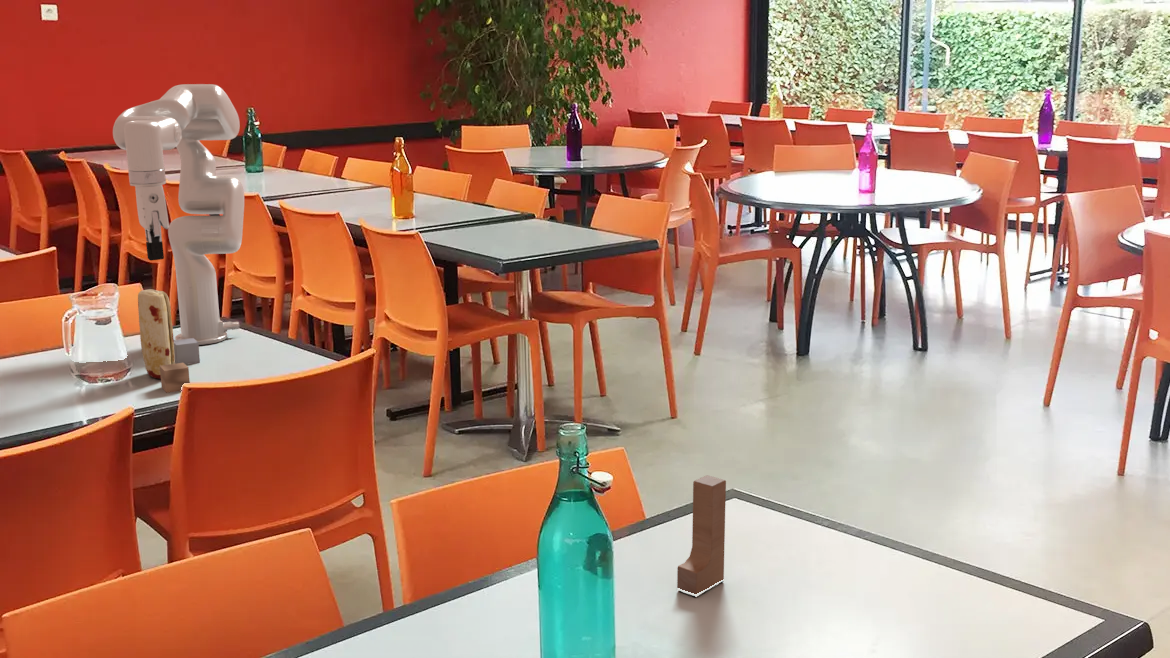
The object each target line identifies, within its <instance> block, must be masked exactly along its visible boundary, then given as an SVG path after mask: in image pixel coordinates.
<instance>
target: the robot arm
mask: <svg viewBox="0 0 1170 658" xmlns="http://www.w3.org/2000/svg"><path fill="white" fill-rule="evenodd" d="M240 124H241V123H240V117H239V114H238V112H237V109H236V108H235V106H234V104H233V103H232V101H231V99H230V97H229V96H228V94H227V93H226V92H225V91H224V89H223V88H222V87H220V86H219V85H218V84H212V83H211V84H210V83H208V84H205V83H196V84H195V83H194V84H193V83H192V84H191V83H190V84H189V83H187V84H185V83H184V84H178V85H174V86H172V87H171V88H169V89H168V90H167V91H166V92H165V93H164V94H163V95H162V96H161V97H160V98H159V99H155V100H152V101H150V102H149V101H148V102H146V103H143V104H139V105H136V106H133V107H130V108H127V109H125V110H124V111H123V112H122V113H120V114H119V115H118V117H117V118H116V119H115V122H114V123H113V127H112V137H113V140H114V143H115V144H116V146H117V147H119V148H120V149H121V150H123V151H125V152H126V160H127V161H126V162H127V169H128V180H129V181H128V182H129V186H130V187H135V189H134V190H135V197H136V198H135V201H136V209H137V217H138V222H139V225H140V226H141V227H142V228H143V229H144V232H145V233H144V234H145V240H146V242H145V244H146V245H145V246H146V255H147V259H148V260H149V261H160V260H164V259H165V256H164V255H165V254H164V246H163V245H164V244H163V239H162V228H163V229H164V230H167V234H168V239H169V244H170V248H171V251H172V255H173V259H174V261H173V263H174V268H175V277H176V288H177V289H176V290H177V299H178V300H177V301H178V311H179V312H178V313H179V322H180V323H179V324H180V333H179V334H177V335H176V336H175V337H174V340H182V339H190V338H194V339H195V340H196V341H197V342H198V345H199V346H202V345H211V344H216V343H217V344H218V343H220V342H222V341H225V340H227V338H228V333H227V332H228V331H230V330H232V331H233V330H240V322H239V321H223V320H222V319H220V309H219V295H218V285H217V284H218V283H217V273H216V269H215V267H214V265H213V263H212V262H211V260H209V258H208V257H207V256H206V255H219V254H220V255H221V254H222V255H223V254H225V255H226V254H227V255H228V254H229V255H230V254H234V253H237V252H238V251H239V250H240V248H241V245H242V244H243V243H242V242H243V229H244V213H245V190H244V186H243V184H242V182H241V180H240V179H238V178H237V177H234V176H227V175H226V176H221V175H220V176H218V175H217V176H216V171H217V161H216V159H215V157H214V155H213V154H212V153H211V151H210V150H209V149H208V148H207V147H206V146H204V144H203V143H202V142H201V141H230V140H233V139H235V138H236V137H237V136H238V134H239V132H240V128H241V127H240ZM175 148H176V150H177V152H178V155H179V160H180V173H179V185H178V197H177V199H178V206H179V207H180V210H181V211H183V212H184V213H186V214H190V215H183V216H179V217H176V218H175V219H173V220H172V221H171V222H169V215H168V209H167V202H166V197H165V191H164V187H163V185H165V184H167V179H166V169H165V161H164V160H165V159H164V158H165V157H164V151H171V150H173V149H175Z"/></svg>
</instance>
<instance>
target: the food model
mask: <svg viewBox="0 0 1170 658" xmlns="http://www.w3.org/2000/svg"><path fill="white" fill-rule="evenodd" d="M137 307H138V309H137V310H138V322H139V337H140V346H141V354H142V358H143V362H144V367H145V370H146V372H147V374H148V375H149V376H150V377H151V378H153V379H160V380H161V374H160V366H162V365H169V364H176V363H175V354H174V340H175V338H174V329H173V318H172V310H171V309H172V308H171V302H170V299H169V296H168V293H166V292H165V291H163V290H156V289H153V288H152V289H151V288H149V289H144V290H140V291H139V292H138V294H137Z"/></svg>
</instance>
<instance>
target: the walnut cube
mask: <svg viewBox="0 0 1170 658" xmlns="http://www.w3.org/2000/svg"><path fill="white" fill-rule="evenodd" d="M160 374H161V379H160V383H161V385H160V386H161V388H162V389H163V390H164V392H165V393H166V394H169V393H176V392H181V391H180V390H181V387H182V385H183V384H184V383H190V384H191V381H190V369H189V367H188V366H187V364H186V365H185V364H184V363H177V364H176V363H175V364H169V365H162V366H160Z"/></svg>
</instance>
